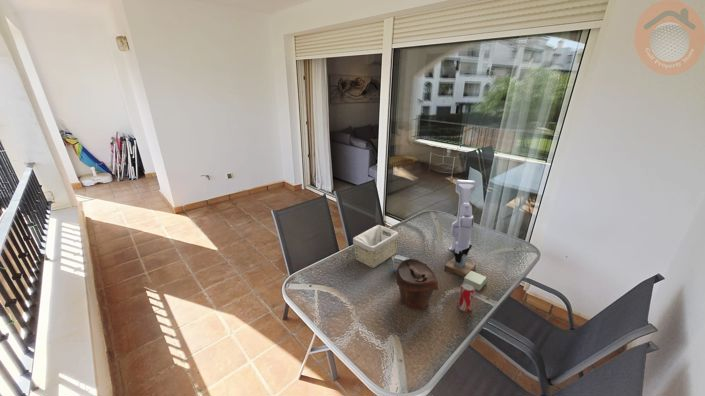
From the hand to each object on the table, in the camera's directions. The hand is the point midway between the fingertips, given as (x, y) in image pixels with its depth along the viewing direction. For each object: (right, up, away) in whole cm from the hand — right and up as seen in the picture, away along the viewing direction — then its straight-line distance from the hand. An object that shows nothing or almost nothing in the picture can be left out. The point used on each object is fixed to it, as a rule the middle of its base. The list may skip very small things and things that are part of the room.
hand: (461, 259), depth 152 cm
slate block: (0, -3, +2) cm, 4 cm away
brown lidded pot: (-30, -15, -20) cm, 39 cm away
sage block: (+3, -10, -10) cm, 14 cm away
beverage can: (-8, -17, -25) cm, 31 cm away
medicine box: (-32, -7, +1) cm, 33 cm away
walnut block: (0, -6, +2) cm, 6 cm away
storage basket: (-45, -2, +16) cm, 48 cm away
